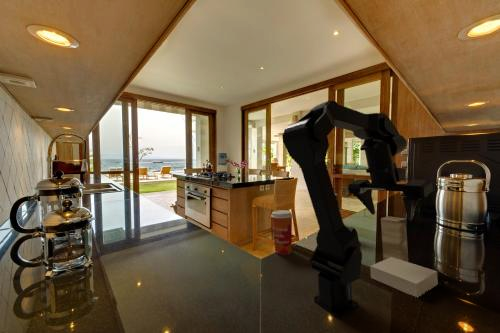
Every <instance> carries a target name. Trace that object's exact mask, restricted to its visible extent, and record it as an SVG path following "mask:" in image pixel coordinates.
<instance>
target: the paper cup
mask: <svg viewBox="0 0 500 333" xmlns="http://www.w3.org/2000/svg"><path fill="white" fill-rule="evenodd" d="M270 217H271V223H272V232H273V233H272V234H273V241H274V242H273V244H274V250H275V254H277V251H278V254H277V255H279V254H288V253H291V254H292V245H293V243H292V241H293V232H292V231H293V217H294V215H293V213H292V211H291V210H284V209H281V210H279V209H278V210H275V211H274V210H273V211H272V212H271V215H270Z"/></svg>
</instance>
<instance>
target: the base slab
mask: <svg viewBox="0 0 500 333" xmlns="http://www.w3.org/2000/svg"><path fill="white" fill-rule="evenodd" d="M370 278H371V279H373V280H375V281H378V282H379V283H382V284H384V285H387V286H389V287H391V288H393V289H396V290H398V291H400V292H402V293H405V294H407V295H409V296H411V295H412V297H414V296H415V297H414V298H416V297H417V298H416V299H418V298H420V297H422V294H423V295H424V294H426V293H427V292H428V290H429V291H430V290H431V289H433V288H434V287H436V286H437V285H438V284H439V282H438V281H439V280H438V271H436V270H434V269H430V268H428V267H424V266H422V265H418V264H414V263H412V262H409V261H408V262H406V261H403V260H399V259H396V258H393V257H390V258H388V259H385V260H382V261H381V260H380V261H379V262H377V263H374V264H372V265H370ZM426 291H427V292H426ZM425 292H426V293H425ZM419 296H420V297H419Z"/></svg>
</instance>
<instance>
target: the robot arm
mask: <svg viewBox="0 0 500 333" xmlns="http://www.w3.org/2000/svg"><path fill="white" fill-rule="evenodd" d="M335 128H339V129H342V130H346V131H350V132H353V136H354V137H356V138H358V139H359V140H362V141H363V143H362V145H361V146H360V148H359V150H360V151H364V154H365V158H366V163H367V168H366V169H365V173H367V174H369V177H370V180H369V179H368V178H365V179H364V178H363V179H362V178H361V179H360V178H356V179H355V180H353V181H351V182H350V183H348V185H347V191H348V194H352V196H353V197H356V199H358V200H359V201H360V202H361V203H362V205H363V206H364V207H365V208H366V209H367V210H368V212H369V213H370V214H371V215H372V216H373V215H375V214H376V211H375V210H376V209H375V204H374V200H373V196H372V193H373V191H383V192H385V191H386V192H402V194H403V196H404V197H403V199H402V201H403V205H404V210H405V213H406V217H407V219H408V221H412V220H413V217H414V214H415V210H416V206H417V204H418V202H419V201H420V200H421V199H422V200H423V199H425V198H427V196H429V195H430V194H431V193H432V192H433V191H434V187H433V184H432V183H431V182H430V180H429V179H410V180H409V181H407V182H406V183H400V182H401V181H403V180H404V181H405V180H407V170H406V168H403V167H397V164H396V163H397V162H393V157H395V156H396V155H398V154H400V153H401V152H404V150H406V148H407V145H408V142H407V139H406V138H405V137H404V136H403V135H401V134H400V132H399V131H398V129H397V127H396V126H395V124H394V123H393V121H392V119H391V118H390V117H389V116H388V115H387V114H385V113H384V112H383V113H382V112H373V113H371V112H370V113H363V112H361V111H358V110H355V109H352V108H349V107H347V106H345V105H341V104H339V103H338V102H337V101H335V100H326V101H325V102H322V103H319V104H317V105H314V106H313V108H311V109H310V111H308V112H307V113H306V114H304V115H303V116H302V117H301V118H299V119H298V120H297V121H296V120H295V122H294V123H291V124H288V125H287V126H286V127H285V129H284V131H283V133H282V134H281V135H282V143H283V145H284V147H285V149H286V151H287V153H288V156H289V157H290V158H291V159H292V160H293V161H294V162H295V163H296V164H297V165H298V166H299V168H300V169H301V173H302V176H303V179H304V183H305V186H306V189H307V192H308V195H309V199H310V202H311V206H312V208H313V210H314V215H315V217H316V221H317V225H318V228H319V230H318V232H317V234H316V237H315V240H316V246H315V249H314V251H313V252H312V254H311V256H310V258H309V260H308V263H309V266H310V268H311V270H314V271H317V272H318V274H317V283H318V285H317V286H318V295H315V296H314V297H313V301H314V302H316V303H317V304H319V306H321V307H323V308H324V309H326V310H327V311H329V312H330V313H331V314H333V315H334V316H336V317H338V318H340V317H342V316H343V315H345V314H347V313H349V312H351V311H353V310H354V309H356V308H357V307H359V302H357V301H356V300H354V299H352V298H353V291H352V283H354V282H356V281H357V280H359V279H360V275H361V267H362V261H363V253H362V252H363V251H362V249H361V246H362V244H361V242H360V239H359V233H358V232H357V229H356V228H355V227H352V226H351V227H350V226H346V225H345V223H344V221H343V216H342V213H341V211H340V207H338V205H339V202H338V203H337V200H338V199H337V197H336V196H335V190H334V187H333V184H332V183H333V182H332V180H331V175H330V173H329V170H328V166H327V164H326V163H327V162H326V158H327V155H328V151H329V147H330V143H329V137H328V136H329V135H330V133H331V132H332V131H333V130H334V129H335ZM336 199H337V200H336Z"/></svg>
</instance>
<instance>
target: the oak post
mask: <svg viewBox="0 0 500 333" xmlns="http://www.w3.org/2000/svg"><path fill="white" fill-rule="evenodd" d="M380 226H381V241H382V242H381V243H382V258H383V260H385V259H388V258H390V257H393V258H396V259H399V260H403V261H406V262H409V253H408V249H409V248H408V236H407V234H408V232H407V219H406V218H404V217H403V218H401V217H395V216H384V217H381V218H380ZM383 260H382V261H383Z"/></svg>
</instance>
